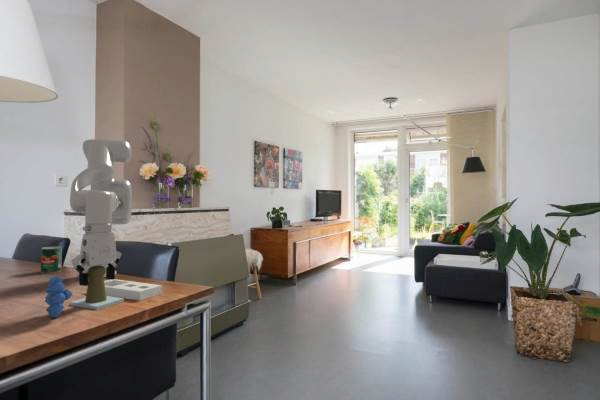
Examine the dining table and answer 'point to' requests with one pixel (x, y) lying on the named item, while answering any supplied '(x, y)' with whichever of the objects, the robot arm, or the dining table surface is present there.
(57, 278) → the grapes
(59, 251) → the canned tomato
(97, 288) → the olive rounded piece
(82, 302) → the rubber mat
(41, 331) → the dining table surface
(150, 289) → the white board with cutout
